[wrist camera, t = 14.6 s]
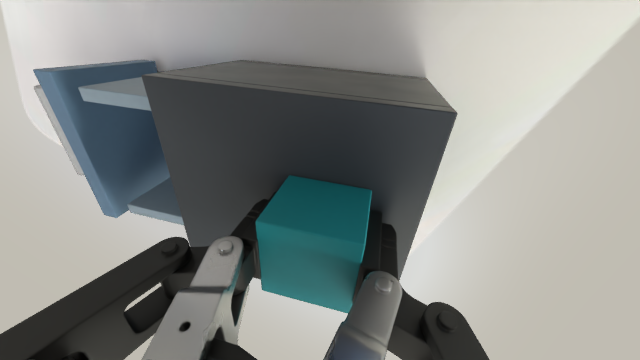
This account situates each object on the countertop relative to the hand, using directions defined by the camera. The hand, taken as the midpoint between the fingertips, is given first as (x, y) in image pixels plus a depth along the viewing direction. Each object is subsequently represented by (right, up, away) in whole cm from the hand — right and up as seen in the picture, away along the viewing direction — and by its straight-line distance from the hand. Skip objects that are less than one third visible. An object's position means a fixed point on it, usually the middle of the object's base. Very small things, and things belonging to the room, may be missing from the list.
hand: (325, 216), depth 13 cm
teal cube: (0, 0, 0) cm, 0 cm away
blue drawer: (-11, +6, +9) cm, 16 cm away
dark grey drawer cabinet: (0, +5, +8) cm, 10 cm away
